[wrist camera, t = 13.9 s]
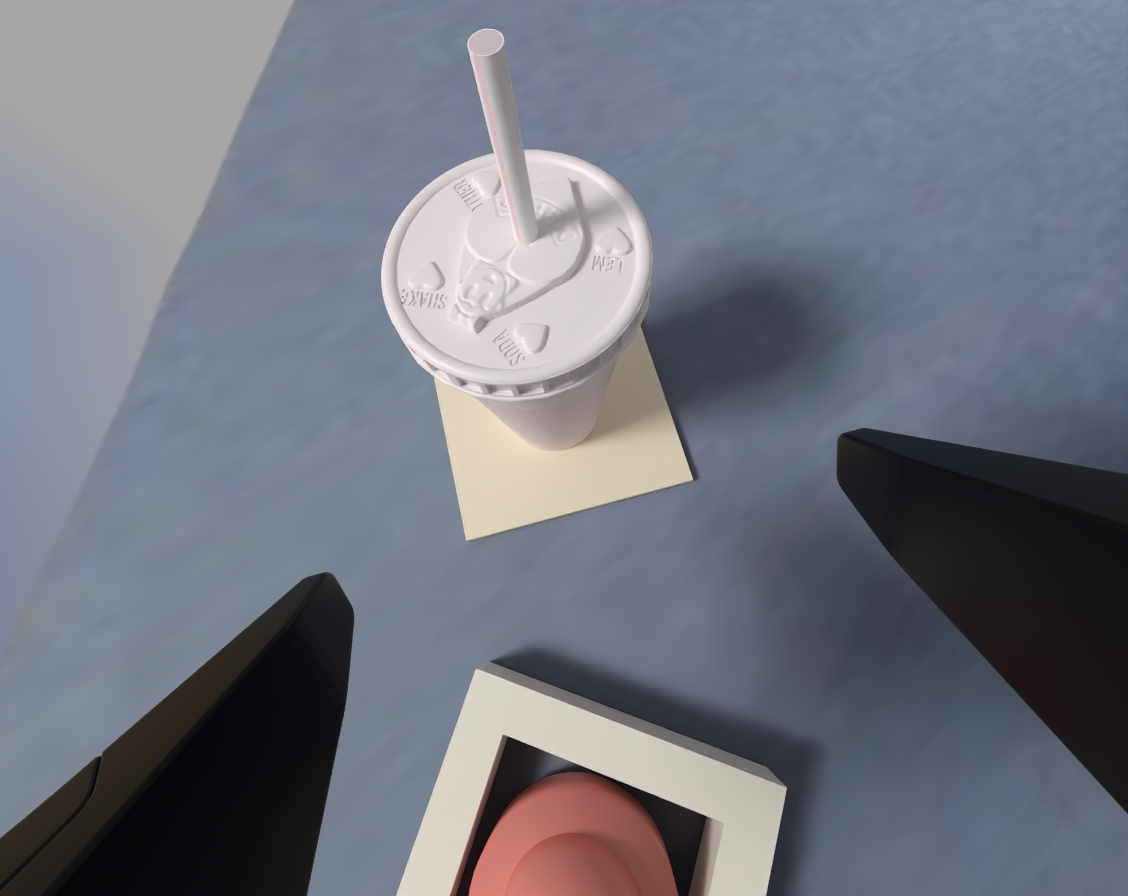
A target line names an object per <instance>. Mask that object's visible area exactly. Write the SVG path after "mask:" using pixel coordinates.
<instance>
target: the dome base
mask: <svg viewBox="0 0 1128 896" xmlns="http://www.w3.org/2000/svg"><path fill="white" fill-rule="evenodd" d="M508 736H509V737H511V738H514V739H516V740H519V741H521V742H524V743H526V744H529V745H531V746H534V747H536V748H539V749H541V750H544V751H546V752H549V753H551V754H554V755H556V756H559V757H561V758H564V759H566V760H569V761H571V762H573V763H576V764H578V765H581V766H583V767H586V768H588V769H591V770H593V771H596V772H598V773H601V774H603V775H606V776H608V777H611V778H613V779H616V780H618V781H621V782H623V783H626V784H628V785H631V786H633V787H636V788H638V789H641V790H643V791H646V792H648V793H651V794H653V795H656V796H658V797H661V798H663V799H666V800H668V801H670V802H673V803H675V804H678V805H680V806H683V807H685V808H688V809H690V810H693V811H695V812H698V813H700V814H703V815H705V816H706V821H705V825H704V829H703V834H702V838H701V843H700V847H699V851H698V856H697V860H696V865H695V869H694V873H693V878H692V882H691V886H690V891H689V895H688V896H766V893H767V888H768V883H769V878H770V873H771V867H772V862H773V857H774V852H775V847H776V842H777V837H778V832H779V826H780V821H781V816H782V811H783V806H784V801H785V796H786V790H787V787H786V786H785V785H784V784H783V783H782V782H781V781H780V780H779V779H778V778H777V777H776V776H775V775H774V774H773V773H772V772H771V771H770V770H769V769H768V768H767V767H766V766H763V765H760V764H758V763H755V762H752V761H750V760H747V759H745V758H742V757H739V756H737V755H734V754H731V753H729V752H726V751H723V750H721V749H718V748H716V747H713V746H710V745H708V744H705V743H702V742H700V741H697V740H695V739H692V738H689V737H687V736H684V735H681V734H679V733H676V732H673V731H671V730H668V729H666V728H663V727H660V726H658V725H655V724H652V723H650V722H647V721H645V720H642V719H639V718H637V717H634V716H631V715H629V714H626V713H623V712H621V711H618V710H616V709H613V708H610V707H608V706H605V705H602V704H600V703H597V702H595V701H592V700H589V699H587V698H584V697H581V696H579V695H576V694H573V693H571V692H568V691H566V690H563V689H560V688H558V687H555V686H552V685H550V684H547V683H545V682H542V681H539V680H537V679H534V678H531V677H529V676H526V675H523V674H521V673H518V672H516V671H513V670H510V669H508V668H505V667H502V666H500V665H497V664H494V663H492V662H487V663H485V664H484V665H482V666H480V667H478V668H476V671H475V673H474V676H473V679H472V682H471V685H470V688H469V690H468V693H467V696H466V699H465V702H464V705H463V707H462V710H461V713H460V716H459V719H458V722H457V725H456V727H455V730H454V733H453V736H452V739H451V742H450V744H449V747H448V750H447V753H446V756H445V759H444V761H443V764H442V767H441V770H440V773H439V776H438V779H437V781H436V784H435V787H434V790H433V793H432V796H431V798H430V801H429V804H428V807H427V810H426V813H425V815H424V818H423V821H422V824H421V827H420V830H419V833H418V835H417V838H416V841H415V844H414V847H413V850H412V852H411V855H410V858H409V861H408V864H407V867H406V869H405V872H404V875H403V878H402V881H401V884H400V886H399V889H398V892H397V895H396V896H456V894H457V891H458V888H459V885H460V882H461V879H462V876H463V873H464V870H465V867H466V864H467V861H468V858H469V855H470V852H471V849H472V845H473V842H474V839H475V836H476V833H477V830H478V827H479V824H480V821H481V818H482V815H483V812H484V809H485V806H486V803H487V800H488V796H489V793H490V790H491V787H492V784H493V781H494V778H495V775H496V772H497V769H498V766H499V763H500V760H501V757H502V754H503V751H504V747H505V744H506V741H507V738H508Z"/></svg>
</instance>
